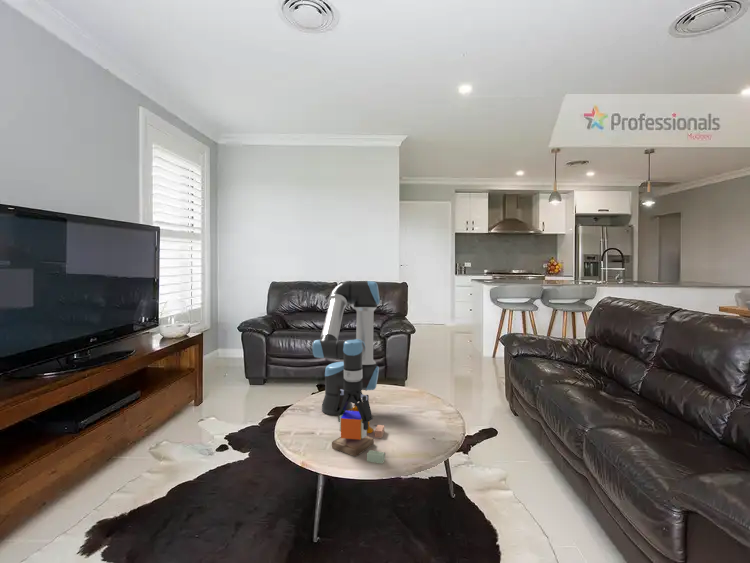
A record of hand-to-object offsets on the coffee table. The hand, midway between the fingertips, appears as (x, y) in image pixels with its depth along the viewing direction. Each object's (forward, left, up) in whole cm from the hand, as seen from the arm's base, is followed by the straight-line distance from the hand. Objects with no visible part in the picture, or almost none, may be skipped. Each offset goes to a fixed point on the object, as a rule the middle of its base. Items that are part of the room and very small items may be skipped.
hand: (352, 433), depth 157 cm
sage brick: (+14, -4, -5) cm, 15 cm away
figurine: (-6, +14, -5) cm, 16 cm away
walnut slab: (0, 0, -5) cm, 5 cm away
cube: (0, 0, -1) cm, 1 cm away
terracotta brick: (+3, +15, -5) cm, 16 cm away
